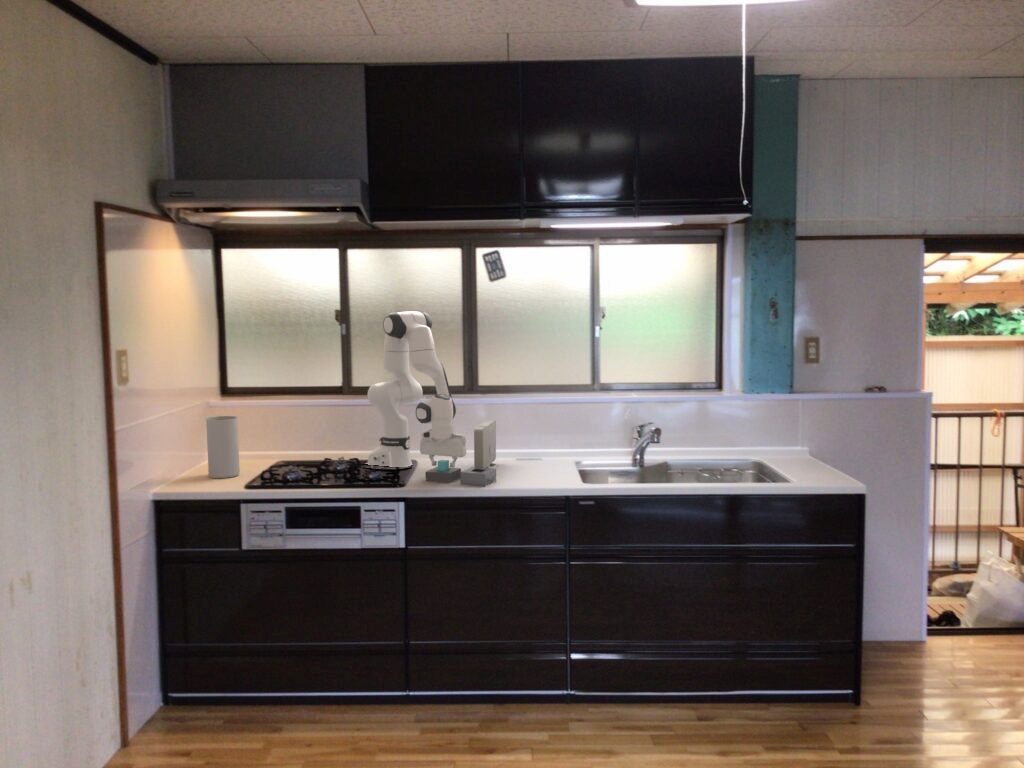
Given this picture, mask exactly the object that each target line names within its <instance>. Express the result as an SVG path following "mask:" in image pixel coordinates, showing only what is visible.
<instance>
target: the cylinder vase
mask: <svg viewBox="0 0 1024 768" xmlns="http://www.w3.org/2000/svg"><path fill="white" fill-rule="evenodd" d="M238 421H239V420H238V417H237V416H234V415H222V416H221V415H219V416H211V417H206V419H205V422H206V426H205V427H206V442H207V443H206V444H207V447H206V448H207V467H208V468H207V469H208V477H209V478H212V479H230V478H235V477H237V476H239V475H240V473H241V472H240V471H241V470H240V448H239V447H240V445H239V422H238Z"/></svg>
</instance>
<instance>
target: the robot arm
mask: <svg viewBox="0 0 1024 768" xmlns="http://www.w3.org/2000/svg"><path fill="white" fill-rule="evenodd" d="M382 326H383V331H384V332H385V336H384V342H383V368H384V369H385V371H387V372H389V373H390V374H392V375H393V377H394V380H392V381H381V382H377V383H374V384H373V383H372V384H371V385H370V387H368V389H367V399H368V401H369V403H370V404H371V405H372V406H373V407H374V408H376V410H377V411H378V412H379V413H380V416H381V419H382V424H383V436H382V437H381V438H379V439H378V442H380V444H379V445H378V446H377V447H376V448H375V449H373V450H372V451H371V452H370V453H369V454H368V457H367V462H366V463H365V464H368V465H379V466H389V467H408V466H411V465H413V462H412V458H411V451H410V449H411V439H410V437H411V436H410V435H409V429H410V428H409V419H408V418H407V416H406V415H404V414H402V413H401V412H399V410H398V406H407V405H412V404H416V403H418V404H417V405H416V408H415V418H416V419H417V421H418V422H419V423H421V424H424V425H427V424H429V425H430V424H431V429H428V430H425V431H423V432H421V434H420V435H421V439H420V443H419V452H420V454H421V455H425V456H426V455H428V458H429V460H430V462H431V466H433V467H434V466H438V460H435V456H439V457H451V459H452V461H451V462H449V467H450V468H456V461H457V460H458V458H464V457H466V455H467V447H466V442H467V440H466V439H467V438H466V436H464V435H463V434H456V433H454V423H453V422H454V421H453V419H454V418H455V416H456V413H457V407H456V403H454V399H453V397H452V394H451V389H450V385H449V382H448V377H447V374H446V370H445V367H444V365H443V363H441V362H440V360H439V359H438V356H437V353H436V345H435V340H434V337H433V336H434V335H433V332H432V329H433V328H432V327H433V321H432V317H431V315H430V314H428V313H427V312H423V311H414V310H413V311H412V310H411V311H410V310H406V311H400V312H391V313H388V314H386V316H385V317H384V319H383V321H382ZM410 364H411V366H412V368H414V370H415V371H417V372H420V373H421V374H425V375H427V376H429V377H430V378H431V379H432V380H433V382H434V386H435V390H436V394H434V395H433V396H432V397H431V398H429V399H427V400H424V401H421V399H422V397H423V392H424V390H423V388H422V385H421V384H420V383H419V382H418V381H417V380H416V378H415V377H414V376H413V375H412V371H411V368H410Z"/></svg>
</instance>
